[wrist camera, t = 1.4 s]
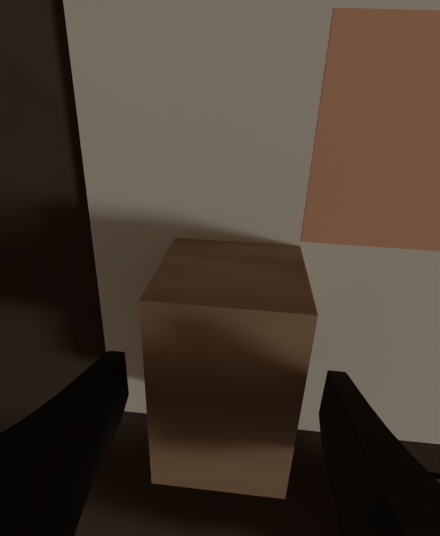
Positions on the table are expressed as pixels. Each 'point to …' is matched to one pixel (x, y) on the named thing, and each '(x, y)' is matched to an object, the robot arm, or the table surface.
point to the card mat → (274, 170)
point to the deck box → (226, 364)
